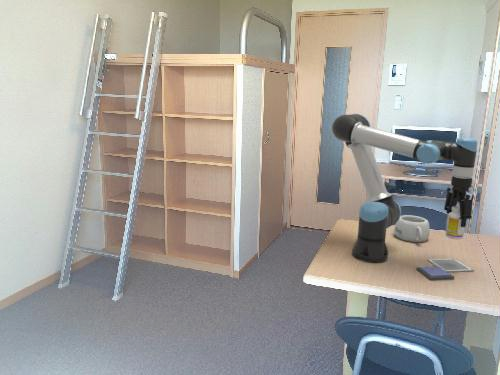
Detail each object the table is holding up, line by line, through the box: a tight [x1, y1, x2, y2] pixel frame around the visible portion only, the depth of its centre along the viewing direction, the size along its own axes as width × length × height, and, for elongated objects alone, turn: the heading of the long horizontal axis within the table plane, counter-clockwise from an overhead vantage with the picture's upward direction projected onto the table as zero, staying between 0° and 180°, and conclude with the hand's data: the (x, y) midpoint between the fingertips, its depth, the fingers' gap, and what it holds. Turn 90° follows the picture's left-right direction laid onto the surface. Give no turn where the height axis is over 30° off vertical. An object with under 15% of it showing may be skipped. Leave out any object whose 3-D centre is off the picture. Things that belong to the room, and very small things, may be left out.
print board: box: [426, 257, 475, 273], centre depth 180 cm, size 13×13×1 cm
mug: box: [393, 214, 430, 243], centre depth 211 cm, size 21×17×10 cm
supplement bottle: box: [445, 205, 464, 240], centre depth 176 cm, size 7×7×13 cm
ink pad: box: [415, 265, 455, 281], centre depth 170 cm, size 10×10×2 cm
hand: (454, 231), depth 177 cm, fingers closed on supplement bottle, 7 cm apart
